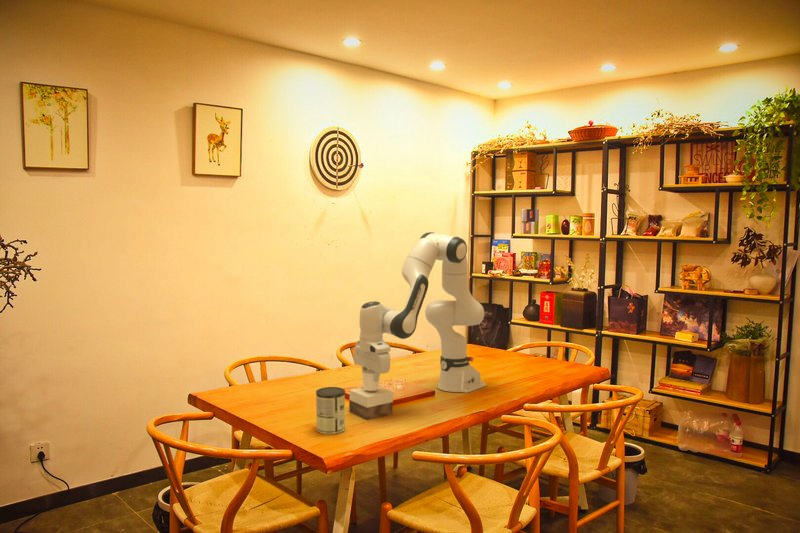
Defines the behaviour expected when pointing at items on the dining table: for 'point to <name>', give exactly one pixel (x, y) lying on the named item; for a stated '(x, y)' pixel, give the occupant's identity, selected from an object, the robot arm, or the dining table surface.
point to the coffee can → (330, 410)
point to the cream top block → (371, 396)
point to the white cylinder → (369, 380)
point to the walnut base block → (370, 410)
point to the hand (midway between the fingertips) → (371, 379)
